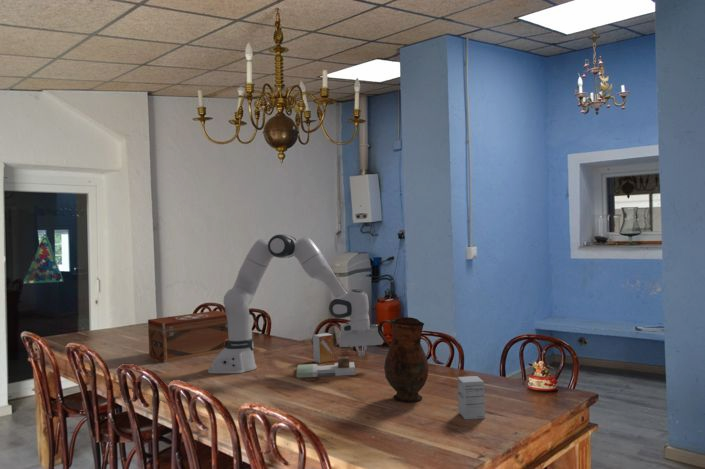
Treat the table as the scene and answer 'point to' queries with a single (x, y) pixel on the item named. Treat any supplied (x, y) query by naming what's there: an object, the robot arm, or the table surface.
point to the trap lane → (324, 370)
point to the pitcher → (405, 358)
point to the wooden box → (187, 335)
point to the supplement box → (471, 397)
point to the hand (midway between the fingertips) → (361, 355)
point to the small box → (323, 347)
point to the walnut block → (343, 362)
